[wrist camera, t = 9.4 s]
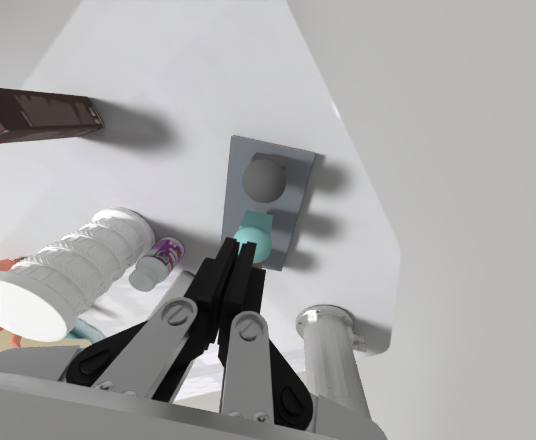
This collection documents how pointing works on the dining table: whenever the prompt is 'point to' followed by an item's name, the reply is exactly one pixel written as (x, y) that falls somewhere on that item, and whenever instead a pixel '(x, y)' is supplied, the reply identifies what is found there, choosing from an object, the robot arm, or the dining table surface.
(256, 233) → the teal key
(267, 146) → the panel
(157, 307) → the light switch
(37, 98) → the box
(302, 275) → the dining table surface
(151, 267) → the pill bottle
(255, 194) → the dark grey round-topped block
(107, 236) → the decorative container
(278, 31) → the dining table surface
